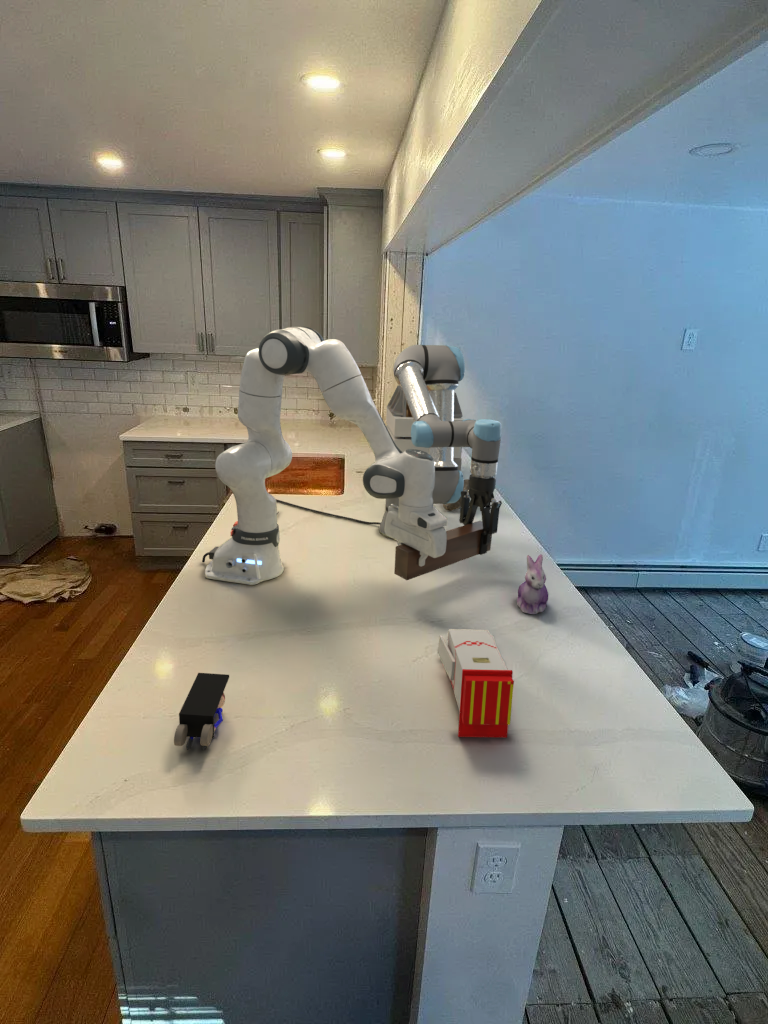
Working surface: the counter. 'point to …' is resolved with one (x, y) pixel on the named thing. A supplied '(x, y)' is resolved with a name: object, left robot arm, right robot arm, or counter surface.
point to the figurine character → (201, 710)
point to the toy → (478, 682)
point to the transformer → (402, 422)
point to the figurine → (533, 588)
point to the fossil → (458, 504)
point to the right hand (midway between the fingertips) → (475, 550)
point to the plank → (458, 548)
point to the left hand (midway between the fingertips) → (412, 561)
